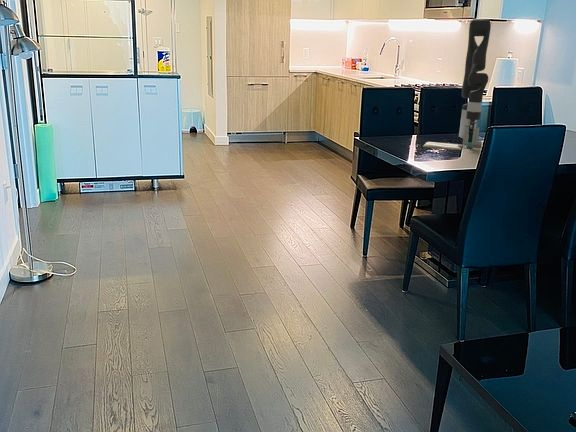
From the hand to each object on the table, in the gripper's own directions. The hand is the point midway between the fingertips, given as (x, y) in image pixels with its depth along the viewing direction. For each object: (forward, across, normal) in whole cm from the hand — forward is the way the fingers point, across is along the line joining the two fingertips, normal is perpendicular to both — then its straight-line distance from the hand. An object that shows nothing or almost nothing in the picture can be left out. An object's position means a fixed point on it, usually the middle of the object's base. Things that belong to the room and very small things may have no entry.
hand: (470, 141), depth 313 cm
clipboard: (+4, +3, -14) cm, 15 cm away
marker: (+4, 0, 0) cm, 4 cm away
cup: (+4, -15, -1) cm, 16 cm away
